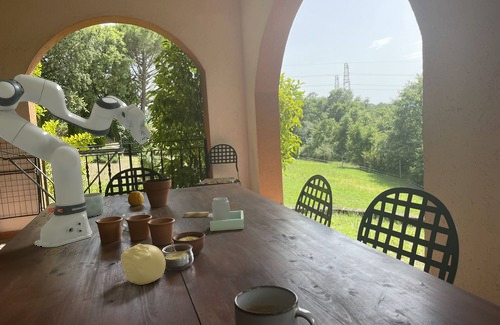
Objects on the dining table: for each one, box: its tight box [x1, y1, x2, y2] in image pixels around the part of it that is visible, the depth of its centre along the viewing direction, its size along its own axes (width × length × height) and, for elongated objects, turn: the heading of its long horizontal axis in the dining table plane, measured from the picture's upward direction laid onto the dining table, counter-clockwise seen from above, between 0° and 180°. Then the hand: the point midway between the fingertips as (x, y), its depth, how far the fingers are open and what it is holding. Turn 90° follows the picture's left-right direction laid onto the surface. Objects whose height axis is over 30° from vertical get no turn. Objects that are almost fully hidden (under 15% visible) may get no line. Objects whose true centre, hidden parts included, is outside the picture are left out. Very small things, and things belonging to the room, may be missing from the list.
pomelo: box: [120, 243, 167, 286], centre depth 114 cm, size 12×12×11 cm
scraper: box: [183, 211, 213, 219], centre depth 190 cm, size 15×7×2 cm, turn 82°
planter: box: [84, 192, 105, 218], centre depth 207 cm, size 12×12×11 cm
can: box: [211, 196, 231, 221], centre depth 170 cm, size 8×8×12 cm
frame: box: [209, 210, 245, 232], centre depth 170 cm, size 14×16×4 cm
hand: (149, 135), depth 180 cm, fingers closed
